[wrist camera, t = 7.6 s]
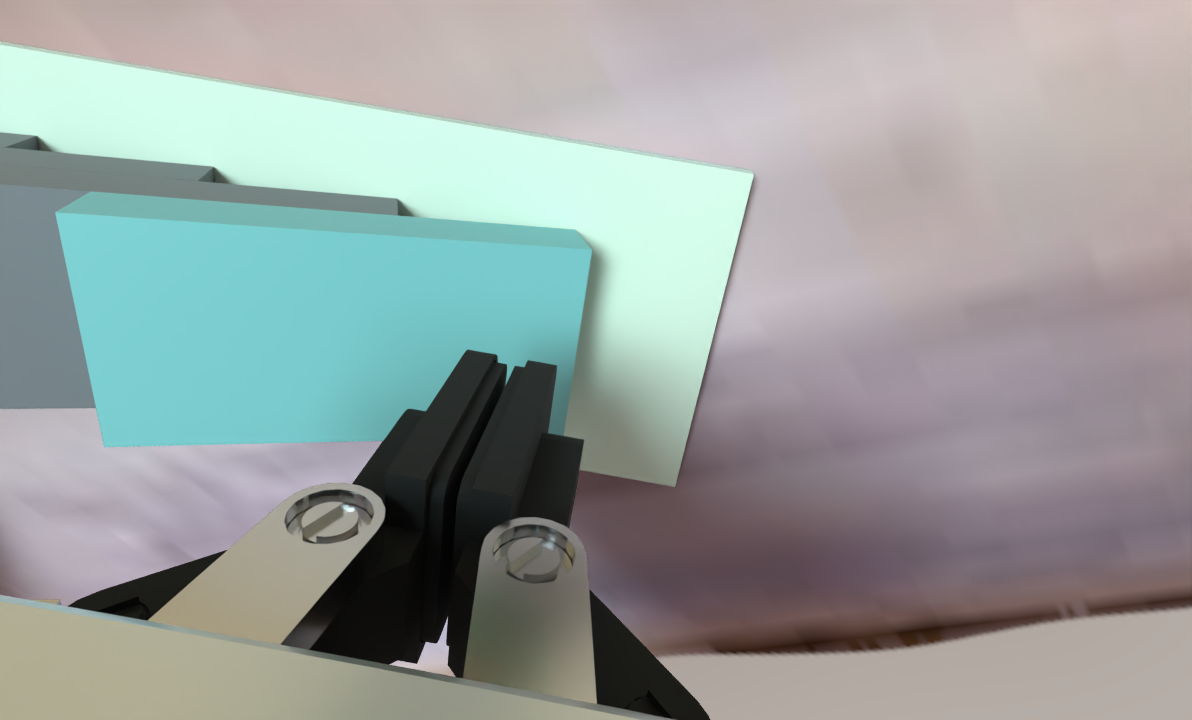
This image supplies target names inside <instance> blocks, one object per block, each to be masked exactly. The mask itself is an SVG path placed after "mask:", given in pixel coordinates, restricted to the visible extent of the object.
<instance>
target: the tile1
mask: <svg viewBox="0 0 1192 720" xmlns="http://www.w3.org/2000/svg"><path fill="white" fill-rule="evenodd" d="M55 214H56V219H57V223H58V228H59V233H60V238H61V242H62V247H63V252H64V257H65V262H66V266H67V271H68V276H69V281H70V286H71V290H72V295H73V300H74V305H75V309H76V314H77V319H78V324H79V329H80V333H81V338H82V343H83V348H84V353H85V357H86V362H87V367H88V372H89V377H90V381H91V386H92V391H93V396H94V400H95V405H96V410H97V415H98V420H99V424H100V429H101V434H102V439H103V444H104V447H128V446H171V445H215V444H258V443H302V442H345V441H384V439H385V438H386V436H387V435H388V434H389V432H390V431H391V429H392V428H393V427H394V425H395V424H396V423H397V421H398V420H399V418H400V417H401V416H402V414H403V413H404V412H405V411H406V410H407V409H416V410H421V411H426V410H427V409H428V407H429V406H430V404H431V403H432V401H433V400H434V398H435V397H436V395H437V394H438V392H439V391H440V389H441V388H442V386H443V385H444V383H445V382H446V380H447V378H448V377H449V375H450V374H451V372H452V371H453V369H454V368H455V366H456V365H457V363H458V362H459V360H460V359H461V357H462V356H463V354H464V353H465V351H466V350H467V349H468V350H474V351H479V352H485V353H491V354H496V355H497V356H498V363H503V364H507V377H506V384H507V382H508V379H509V377H510V375H511V373H512V371H513V369H514V367H515V366H520V367H525V365H526V363H527V361H528V360H530V361H536V362H542V363H547V364H553V365H557V374H556V381H555V388H554V395H553V402H552V409H551V416H550V423H549V430H548V433H550V434H556V435H562V436H564V429H565V423H566V416H567V410H568V403H569V397H570V390H571V384H572V377H573V371H574V364H575V358H576V351H577V345H578V339H579V332H580V326H581V319H582V313H583V306H584V300H585V293H586V287H587V280H588V274H589V267H590V261H591V254H592V249H591V248H590V247H589V245H588V244H587V243H586V242H585V241H584V239H583V238H582V237H581V236H580V235H579V234H578V232H577V231H576V230H573V229H561V228H548V227H535V226H523V225H510V224H497V223H485V222H472V221H459V220H447V219H434V218H421V217H409V216H396V215H383V214H371V213H358V212H345V211H333V210H320V209H307V208H295V207H282V206H269V205H257V204H244V203H231V202H219V201H206V200H193V199H181V198H168V197H155V196H143V195H130V194H117V193H105V192H92V191H91V192H89V193H87V194H86V195H84V196H82V197H80V198H79V199H77V200H75V201H74V202H72V203H70V204H69V205H67V206H65V207H63V208H62V209H60V210H58V211H57V212H55Z"/></svg>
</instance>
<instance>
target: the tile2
mask: <svg viewBox="0 0 1192 720" xmlns="http://www.w3.org/2000/svg"><path fill="white" fill-rule="evenodd" d="M91 191H92V192H105V193H117V194H130V195H143V196H155V197H168V198H181V199H193V200H206V201H219V202H231V203H244V204H257V205H269V206H282V207H295V208H307V209H320V210H333V211H345V212H358V213H371V214H383V215H396V216H398V199H397V198H385V197H374V196H362V195H350V194H339V193H327V192H316V191H304V190H293V189H281V188H270V187H258V186H247V185H235V184H224V183H212V182H201V181H189V180H178V179H166V178H154V177H143V176H131V175H120V174H108V173H97V172H85V171H74V170H62V169H51V168H39V167H28V166H16V165H5V164H0V409H34V408H96V405H95V400H94V396H93V391H92V386H91V381H90V377H89V372H88V367H87V362H86V357H85V353H84V348H83V343H82V338H81V333H80V329H79V324H78V319H77V314H76V309H75V305H74V300H73V295H72V290H71V286H70V281H69V276H68V271H67V266H66V262H65V257H64V252H63V247H62V242H61V238H60V233H59V228H58V223H57V219H56V214H55V212H57V211H58V210H60V209H62V208H63V207H65V206H67V205H69V204H70V203H72V202H74V201H75V200H77V199H79V198H80V197H82V196H84V195H86V194H87V193H89V192H91Z"/></svg>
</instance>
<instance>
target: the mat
mask: <svg viewBox="0 0 1192 720" xmlns="http://www.w3.org/2000/svg"><path fill="white" fill-rule="evenodd" d="M0 132H2V133H13V134H23V135H34V136H37V138H38V143H39V148H40V151H49V152H60V153H71V154H81V155H92V156H103V157H114V158H125V159H136V160H147V161H158V162H169V163H179V164H190V165H201V166H212V167H214V175H215V183H224V184H235V185H247V186H258V187H270V188H281V189H293V190H304V191H316V192H327V193H339V194H350V195H362V196H374V197H385V198H397V199H398V216H409V217H421V218H434V219H447V220H459V221H472V222H485V223H497V224H510V225H523V226H535V227H548V228H561V229H573V230H576V231H577V232H578V234H579V235H580V236H581V237H582V238H583V239H584V241H585V242H586V243H587V244H588V245H589V247H590V248H591V249H592V254H591V261H590V267H589V274H588V280H587V287H586V293H585V300H584V306H583V313H582V319H581V326H580V332H579V339H578V345H577V351H576V358H575V364H574V371H573V377H572V384H571V390H570V397H569V403H568V410H567V416H566V423H565V429H564V436H567V437H573V438H578V439H584V446H583V452H582V458H581V463H580V469H579V470H583V471H588V472H594V473H599V474H605V475H611V476H616V477H622V478H627V479H633V480H639V481H644V482H650V483H655V484H661V485H666V486H672V487H675V485H676V481H677V477H678V474H679V470H680V466H681V462H682V458H683V454H684V450H685V446H686V442H687V438H688V434H689V430H690V426H691V422H692V418H693V414H694V410H695V406H696V402H697V398H698V394H699V390H700V386H701V382H702V378H703V374H704V370H705V367H706V363H707V359H708V355H709V351H710V347H711V343H712V339H713V335H714V331H715V327H716V323H717V319H718V315H719V311H720V307H721V303H722V299H723V295H724V291H725V287H726V283H727V279H728V275H729V271H730V267H731V263H732V260H733V256H734V252H735V248H736V244H737V240H738V236H739V232H740V228H741V224H742V220H743V216H744V212H745V208H746V204H747V200H748V196H749V192H750V188H751V184H752V180H753V176H754V174H753V173H752V171H751V170H746V169H740V168H734V167H728V166H723V165H717V164H711V163H705V162H699V161H694V160H688V159H682V158H676V157H670V156H664V155H659V154H653V153H647V152H641V151H635V150H630V149H624V148H618V147H612V146H606V145H600V144H595V143H589V142H583V141H577V140H571V139H565V138H560V137H554V136H548V135H542V134H536V133H531V132H525V131H519V130H513V129H507V128H501V127H496V126H490V125H484V124H478V123H472V122H467V121H461V120H455V119H449V118H443V117H437V116H432V115H426V114H420V113H414V112H408V111H403V110H397V109H391V108H385V107H379V106H373V105H368V104H362V103H356V102H350V101H344V100H339V99H333V98H327V97H321V96H315V95H309V94H304V93H298V92H292V91H286V90H280V89H275V88H269V87H263V86H257V85H251V84H245V83H240V82H234V81H228V80H222V79H216V78H211V77H205V76H199V75H193V74H187V73H181V72H176V71H170V70H164V69H158V68H152V67H146V66H141V65H135V64H129V63H123V62H117V61H112V60H106V59H100V58H94V57H88V56H82V55H77V54H71V53H65V52H59V51H53V50H48V49H42V48H36V47H30V46H24V45H18V44H13V43H7V42H1V41H0Z"/></svg>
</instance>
